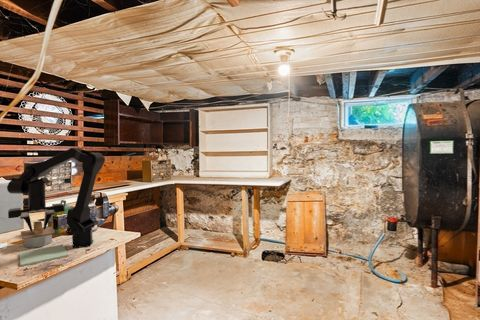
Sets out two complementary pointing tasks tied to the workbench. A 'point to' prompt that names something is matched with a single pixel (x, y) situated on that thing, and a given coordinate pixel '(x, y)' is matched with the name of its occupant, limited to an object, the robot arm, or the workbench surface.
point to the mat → (42, 255)
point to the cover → (37, 231)
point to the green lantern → (66, 207)
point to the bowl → (38, 241)
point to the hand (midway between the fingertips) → (38, 230)
